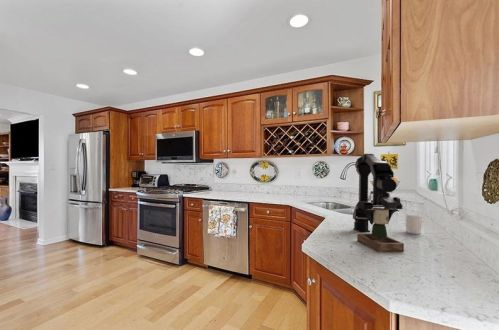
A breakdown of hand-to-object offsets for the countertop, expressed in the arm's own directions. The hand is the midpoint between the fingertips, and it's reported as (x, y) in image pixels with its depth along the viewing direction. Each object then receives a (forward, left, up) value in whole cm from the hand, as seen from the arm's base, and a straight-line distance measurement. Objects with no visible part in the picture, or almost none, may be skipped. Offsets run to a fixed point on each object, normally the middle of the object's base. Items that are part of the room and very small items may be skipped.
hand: (379, 224), depth 111 cm
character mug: (0, 0, -6) cm, 6 cm away
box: (0, 0, -10) cm, 10 cm away
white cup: (-36, -21, -10) cm, 43 cm away
